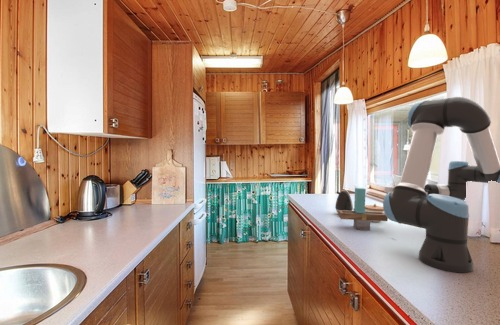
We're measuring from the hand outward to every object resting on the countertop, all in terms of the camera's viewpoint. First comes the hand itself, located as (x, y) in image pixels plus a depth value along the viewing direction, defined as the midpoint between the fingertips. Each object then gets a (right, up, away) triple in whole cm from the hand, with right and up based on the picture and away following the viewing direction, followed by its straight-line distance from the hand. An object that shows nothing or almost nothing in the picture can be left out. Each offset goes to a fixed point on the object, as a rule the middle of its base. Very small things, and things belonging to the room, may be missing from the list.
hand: (385, 189), depth 132 cm
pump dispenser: (-10, -19, +31) cm, 37 cm away
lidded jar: (+3, -20, +17) cm, 26 cm away
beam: (-11, -20, +2) cm, 23 cm away
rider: (-12, -14, +2) cm, 19 cm away
